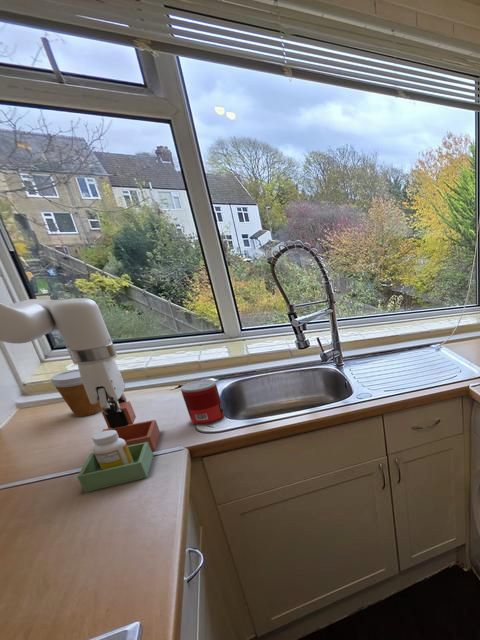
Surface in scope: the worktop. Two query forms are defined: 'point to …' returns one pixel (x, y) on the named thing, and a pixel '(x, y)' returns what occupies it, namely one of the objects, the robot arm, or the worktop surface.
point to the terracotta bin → (139, 433)
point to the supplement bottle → (111, 450)
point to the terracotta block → (127, 411)
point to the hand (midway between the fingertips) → (122, 421)
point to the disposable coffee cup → (75, 393)
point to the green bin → (116, 469)
